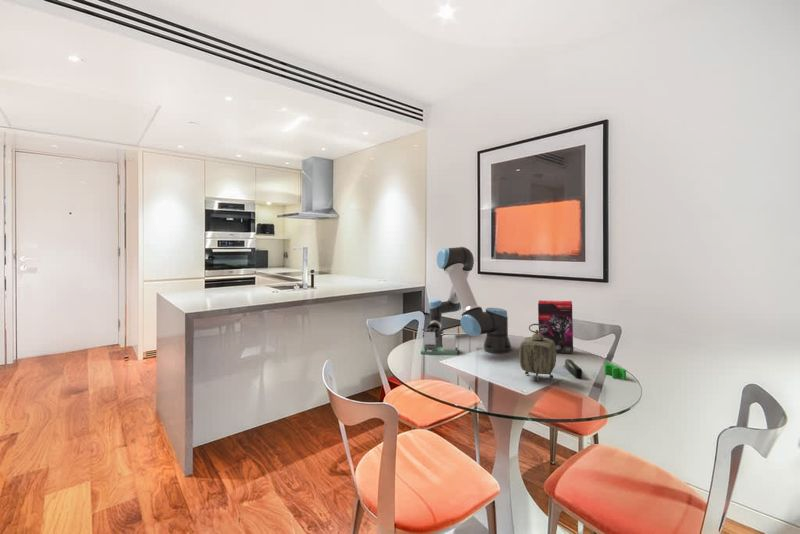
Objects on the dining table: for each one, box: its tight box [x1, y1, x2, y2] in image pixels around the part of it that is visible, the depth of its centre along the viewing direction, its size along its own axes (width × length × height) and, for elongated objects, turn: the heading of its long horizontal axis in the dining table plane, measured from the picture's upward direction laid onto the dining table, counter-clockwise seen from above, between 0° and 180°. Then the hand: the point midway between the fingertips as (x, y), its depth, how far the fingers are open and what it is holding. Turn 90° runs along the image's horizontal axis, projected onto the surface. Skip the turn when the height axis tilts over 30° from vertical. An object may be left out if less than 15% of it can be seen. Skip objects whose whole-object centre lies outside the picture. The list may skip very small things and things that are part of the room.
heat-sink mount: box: [420, 334, 459, 355], centre depth 213 cm, size 20×8×9 cm, turn 79°
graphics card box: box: [537, 300, 574, 354], centre depth 203 cm, size 17×7×27 cm, turn 68°
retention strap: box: [423, 332, 437, 352], centre depth 211 cm, size 6×4×10 cm, turn 79°
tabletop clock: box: [518, 323, 557, 382], centre depth 167 cm, size 14×9×25 cm, turn 59°
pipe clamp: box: [604, 361, 627, 381], centre depth 168 cm, size 11×4×5 cm, turn 10°
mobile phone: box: [563, 358, 583, 379], centre depth 174 cm, size 5×3×15 cm
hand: (429, 339), depth 213 cm, fingers closed
